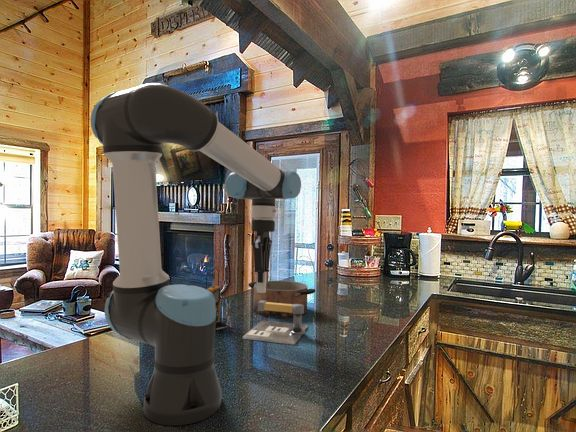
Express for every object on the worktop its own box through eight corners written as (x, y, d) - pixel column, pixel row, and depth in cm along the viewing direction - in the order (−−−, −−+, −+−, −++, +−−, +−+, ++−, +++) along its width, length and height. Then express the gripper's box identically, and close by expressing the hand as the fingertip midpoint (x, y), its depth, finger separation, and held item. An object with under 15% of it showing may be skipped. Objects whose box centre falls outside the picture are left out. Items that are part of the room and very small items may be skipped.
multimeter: (227, 332, 120) (229, 272, 120) (199, 329, 122) (201, 270, 122) (241, 320, 134) (243, 267, 135) (216, 318, 136) (218, 265, 137)
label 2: (285, 333, 118) (285, 332, 118) (264, 331, 120) (264, 329, 120) (288, 329, 123) (288, 327, 123) (269, 327, 124) (269, 325, 124)
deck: (298, 345, 110) (299, 322, 110) (242, 338, 114) (243, 316, 114) (310, 327, 128) (310, 307, 128) (261, 322, 132) (262, 303, 132)
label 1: (267, 338, 113) (267, 336, 113) (246, 335, 115) (247, 334, 115) (272, 333, 118) (272, 331, 118) (252, 331, 120) (252, 329, 120)
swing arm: (304, 312, 121) (305, 303, 121) (302, 315, 117) (302, 306, 117) (261, 308, 125) (261, 300, 125) (257, 310, 121) (257, 302, 121)
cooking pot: (235, 311, 148) (236, 285, 148) (264, 301, 168) (264, 278, 168) (300, 322, 134) (301, 294, 134) (323, 310, 154) (324, 285, 154)
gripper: (268, 219, 109) (266, 297, 109) (280, 219, 122) (277, 289, 122) (245, 218, 111) (242, 295, 111) (258, 219, 124) (256, 287, 124)
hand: (261, 292), depth 116 cm, fingers closed
